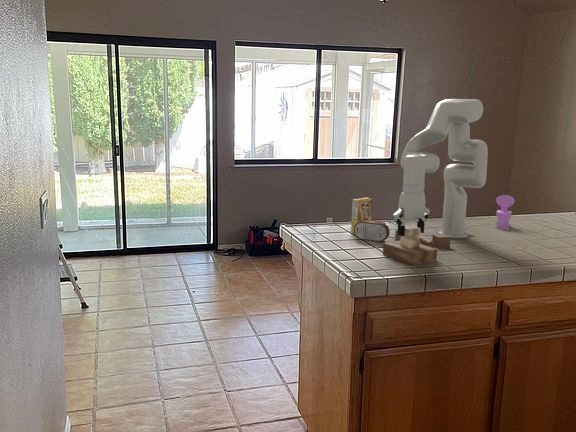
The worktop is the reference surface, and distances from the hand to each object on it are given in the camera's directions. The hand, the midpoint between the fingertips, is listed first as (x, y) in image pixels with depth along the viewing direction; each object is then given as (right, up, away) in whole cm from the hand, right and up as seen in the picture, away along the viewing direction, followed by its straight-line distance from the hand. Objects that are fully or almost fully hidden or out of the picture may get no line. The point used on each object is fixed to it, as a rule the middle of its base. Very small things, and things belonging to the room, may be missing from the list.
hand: (410, 233), depth 202 cm
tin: (-11, -4, +26) cm, 29 cm away
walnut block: (0, -9, +2) cm, 10 cm away
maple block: (0, -5, +1) cm, 5 cm away
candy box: (-13, -1, +40) cm, 42 cm away
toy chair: (+56, +1, +56) cm, 79 cm away
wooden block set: (+10, -5, +23) cm, 26 cm away
